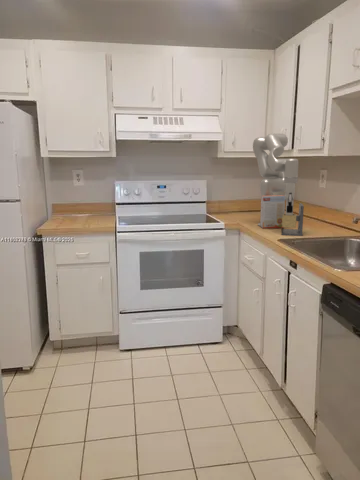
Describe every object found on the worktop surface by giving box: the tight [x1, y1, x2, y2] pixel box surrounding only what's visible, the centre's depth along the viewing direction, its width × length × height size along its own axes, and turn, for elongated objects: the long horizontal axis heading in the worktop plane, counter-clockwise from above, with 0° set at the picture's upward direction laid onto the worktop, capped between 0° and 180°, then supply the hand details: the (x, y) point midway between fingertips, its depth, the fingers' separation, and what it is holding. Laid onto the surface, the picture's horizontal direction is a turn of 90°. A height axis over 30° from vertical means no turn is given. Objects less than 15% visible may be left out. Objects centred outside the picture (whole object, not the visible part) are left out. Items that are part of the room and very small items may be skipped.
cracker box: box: [260, 194, 286, 229], centre depth 237 cm, size 14×6×21 cm, turn 92°
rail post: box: [285, 199, 294, 215], centre depth 216 cm, size 4×4×14 cm
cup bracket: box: [281, 202, 305, 237], centre depth 217 cm, size 16×12×17 cm
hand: (289, 211), depth 216 cm, fingers closed on rail post, 3 cm apart
